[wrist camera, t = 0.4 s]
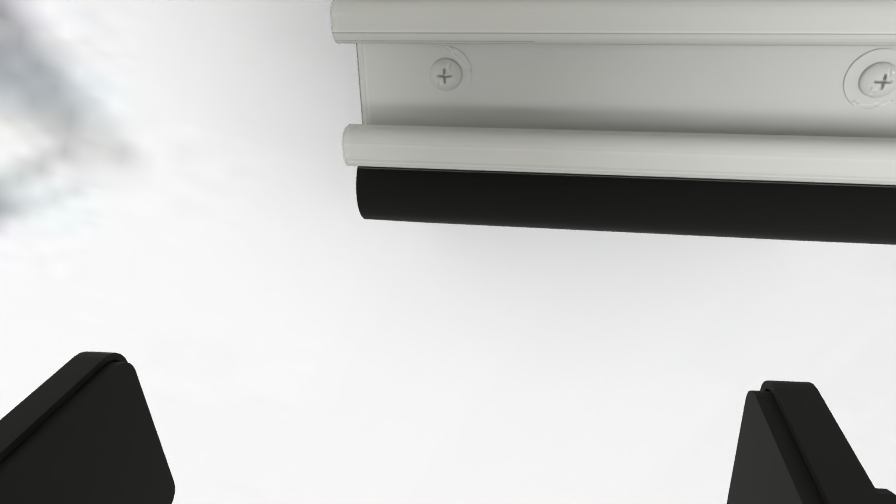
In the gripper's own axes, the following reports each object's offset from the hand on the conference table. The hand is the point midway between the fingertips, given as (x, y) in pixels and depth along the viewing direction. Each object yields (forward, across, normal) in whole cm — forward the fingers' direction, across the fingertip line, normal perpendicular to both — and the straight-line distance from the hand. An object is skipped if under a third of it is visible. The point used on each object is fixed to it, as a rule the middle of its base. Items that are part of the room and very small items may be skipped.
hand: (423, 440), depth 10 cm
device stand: (+30, -5, -2) cm, 31 cm away
